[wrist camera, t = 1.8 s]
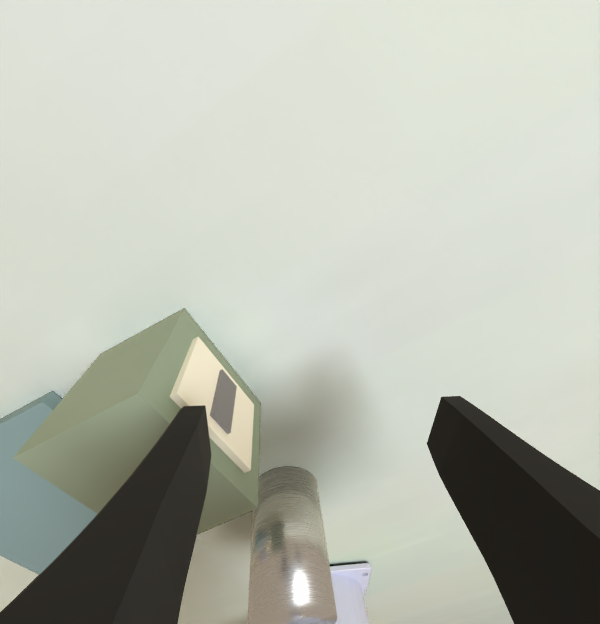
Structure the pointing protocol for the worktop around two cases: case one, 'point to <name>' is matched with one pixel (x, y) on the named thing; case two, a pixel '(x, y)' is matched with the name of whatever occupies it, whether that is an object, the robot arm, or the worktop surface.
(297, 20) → the worktop surface
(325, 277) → the worktop surface
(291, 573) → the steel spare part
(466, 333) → the worktop surface
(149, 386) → the block
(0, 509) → the parts mat
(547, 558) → the robot arm
